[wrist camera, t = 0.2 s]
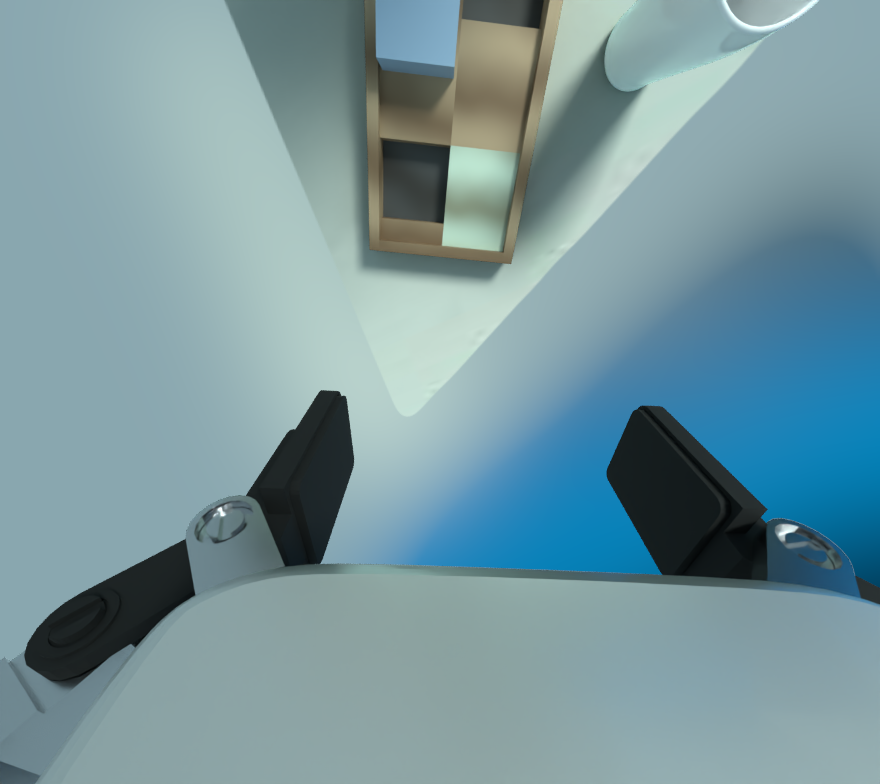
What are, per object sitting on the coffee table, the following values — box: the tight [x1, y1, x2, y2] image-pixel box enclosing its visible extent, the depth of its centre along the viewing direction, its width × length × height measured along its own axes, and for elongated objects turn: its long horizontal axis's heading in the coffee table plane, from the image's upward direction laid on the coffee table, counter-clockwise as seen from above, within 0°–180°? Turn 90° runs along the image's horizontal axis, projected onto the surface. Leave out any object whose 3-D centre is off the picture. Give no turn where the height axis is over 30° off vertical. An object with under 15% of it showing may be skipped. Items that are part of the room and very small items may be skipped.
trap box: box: [364, 0, 563, 264], centre depth 27 cm, size 30×15×3 cm, turn 175°
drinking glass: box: [604, 0, 819, 91], centre depth 21 cm, size 7×7×15 cm
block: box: [376, 0, 460, 79], centre depth 24 cm, size 6×6×3 cm
